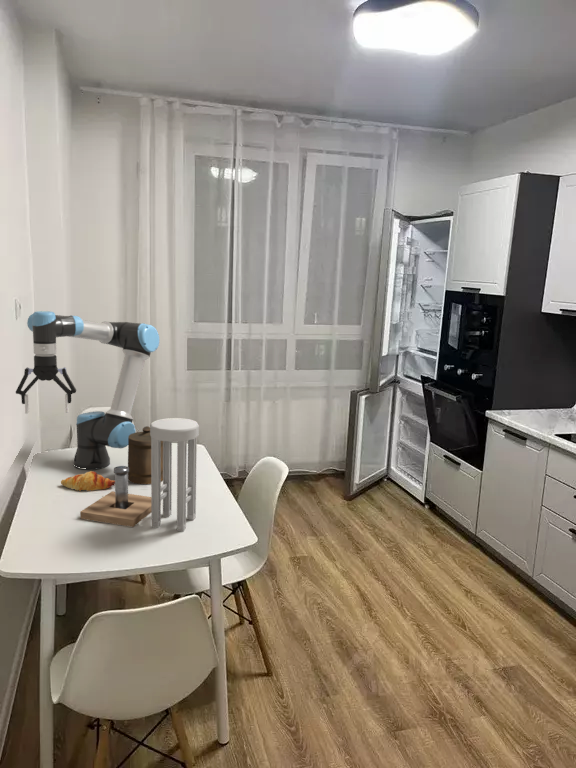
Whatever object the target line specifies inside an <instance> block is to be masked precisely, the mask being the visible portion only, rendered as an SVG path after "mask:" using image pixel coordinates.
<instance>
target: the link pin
mask: <svg viewBox="0 0 576 768" xmlns="http://www.w3.org/2000/svg"><path fill="white" fill-rule="evenodd" d="M128 472H129V467H128V465H127V466H126V465H119V466H115V467H113V474H114V481H115V484H114V492H115V508H119V509H127V508H128V494H129V480H128Z"/></svg>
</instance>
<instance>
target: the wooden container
mask: <svg viewBox="0 0 576 768" xmlns="http://www.w3.org/2000/svg"><path fill="white" fill-rule="evenodd" d="M127 447H128V450H127V467H129V472H128V482H130V483H133V484H136V485H137V484H138V485H151V435H150V426H148V425H147V426H144V427H143V428H142V431H138V432H136V433H133V434H130V435H129V437H128V446H127ZM161 482H163V441H161Z"/></svg>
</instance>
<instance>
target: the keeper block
mask: <svg viewBox="0 0 576 768" xmlns="http://www.w3.org/2000/svg"><path fill="white" fill-rule="evenodd" d="M79 513H80V514H79V515H80V518H81V519H80V520H86V519H88V520H87V521H92V520H94V522H100V523H106V524H113V525H118V526H123V527H131V528H134V527H135V526H136V525H138V524H139V523H140V522H141V521H143V520H144V519H146V517H148V516H149V515H150V514H151V496H147V495H140V494H132V493H128V508H127V509H119V508H115V490H114V491H110V492H108V493H107V494H105V495H104V496H102V497H100V499H97V500H96V501H94V502H93V503H92V504H90V505H88V506H86V507H85V508H84V509H82V510H80V511H79Z"/></svg>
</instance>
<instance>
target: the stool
mask: <svg viewBox="0 0 576 768" xmlns="http://www.w3.org/2000/svg"><path fill="white" fill-rule="evenodd" d="M149 427H150V435H151V484H150V485H151V488H150V489H151V494H150V497H151V513H150V514H151V516H150V518H151V528H155V529H157V528H158V529H159V527H160V526H162V525H161V524H162V523H161V520H162V519H161V518H162V517H167V518H169V516H170V515H172V507H173V506H172V503H173V502H172V494H173V493H172V490H173V489H172V487H173V486H172V481H173V478H172V477H173V476H172V475H173V473H172V471H173V468H172V467H173V465H172V464H173V461H172V460H173V455H172V453H173V451H172V450H173V442H177V443H176V444H177V447H176V448H177V449H176V450H177V451H176V452H177V454H176V455H177V456H176V460H177V461H176V462H177V463H176V465H177V466H176V468H177V469H176V472H177V474H176V475H177V476H176V477H177V478H176V531H177V532H178V531H179V532H184V531H185V530H186V529H187V519H190V521H194V520H195V519H196V516H197V515H196V513H197V510H196V509H197V455H198V454H197V449H198V448H197V443H198V441H197V440H198V437H199V436H200V425H199V424H198V422H197V421H196V420H193V419H189V418H182V417H181V418H180V417H172V418H170V417H169V418H168V417H167V418H161V419H157V420H154V421H153V422H151V423H150V424H149ZM161 441H163V480H162V481H161ZM161 482H162V483H161ZM161 484H162V485H161ZM161 505H162V507H161ZM161 508H162V511H161ZM161 515H162V516H161ZM170 517H171V516H170Z"/></svg>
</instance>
